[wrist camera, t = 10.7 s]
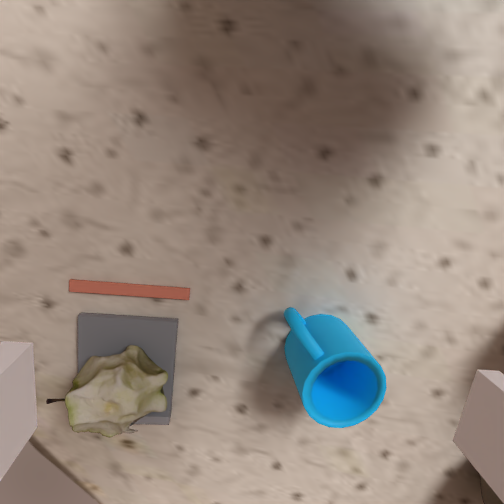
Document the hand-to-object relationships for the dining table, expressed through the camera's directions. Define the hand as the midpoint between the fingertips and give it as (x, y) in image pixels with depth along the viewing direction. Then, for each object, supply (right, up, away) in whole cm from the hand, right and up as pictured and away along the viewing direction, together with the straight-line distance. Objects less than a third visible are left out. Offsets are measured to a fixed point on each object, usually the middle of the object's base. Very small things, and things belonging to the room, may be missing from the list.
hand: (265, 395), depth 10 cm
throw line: (-13, 0, +25) cm, 28 cm away
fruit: (-14, -9, +26) cm, 31 cm away
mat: (-14, -8, +27) cm, 32 cm away
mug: (+6, -5, +29) cm, 30 cm away
